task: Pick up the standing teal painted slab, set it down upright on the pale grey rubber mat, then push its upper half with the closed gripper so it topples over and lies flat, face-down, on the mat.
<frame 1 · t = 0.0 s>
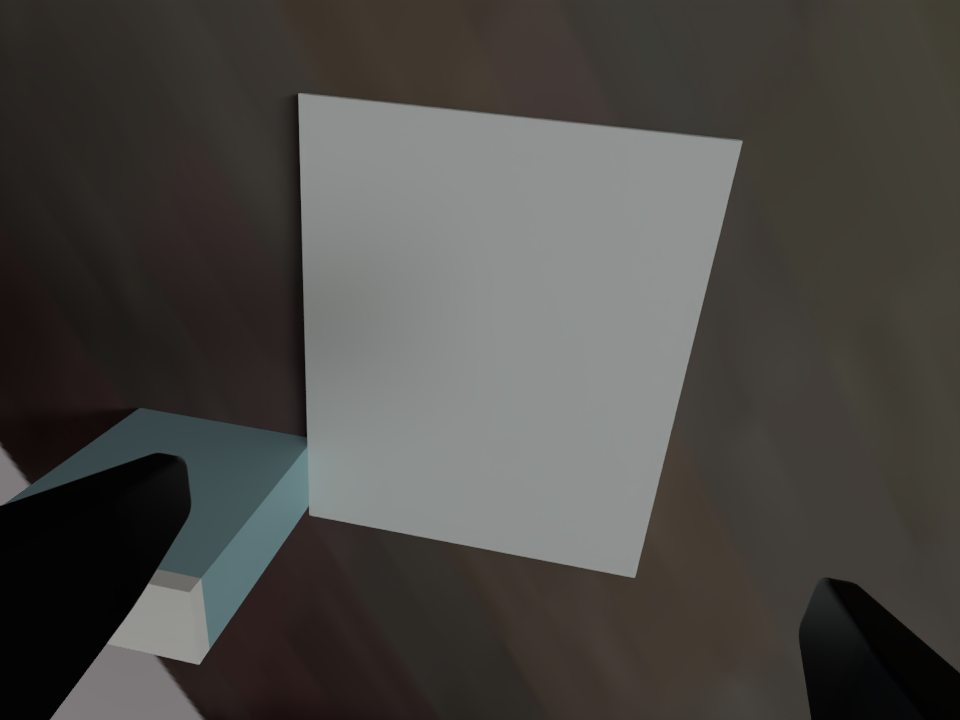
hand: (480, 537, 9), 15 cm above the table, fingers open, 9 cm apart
slab: (228, 452, 28), on the table
mat: (488, 356, 24), on the table
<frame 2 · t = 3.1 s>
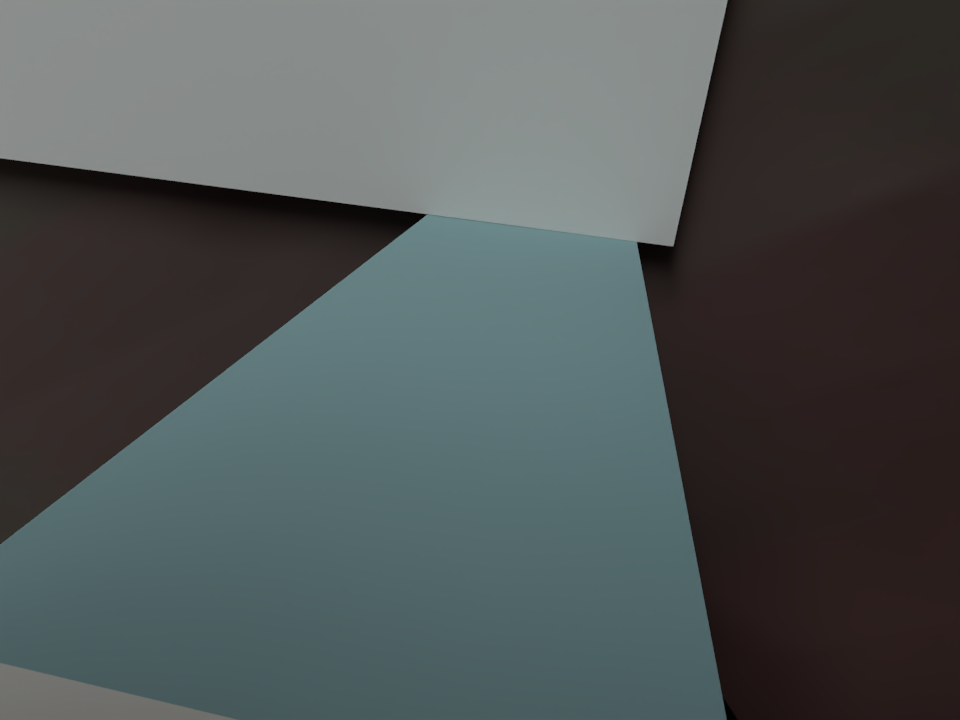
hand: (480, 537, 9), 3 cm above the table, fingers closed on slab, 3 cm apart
slab: (505, 445, 11), on the table, touching gripper
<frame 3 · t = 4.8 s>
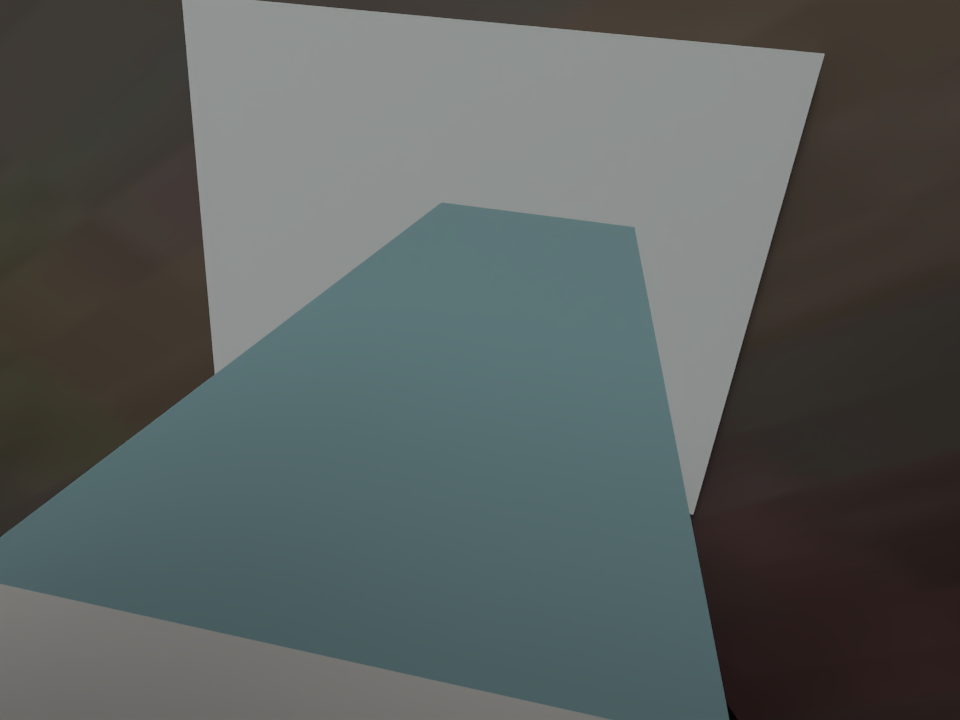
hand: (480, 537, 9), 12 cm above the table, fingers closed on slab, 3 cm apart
slab: (507, 436, 12), point 9 cm above the table, touching gripper
mat: (465, 273, 20), on the table
when the fingers open (4 cm above the table, at t = 6.9 s): slab stays where it is, resting on mat.
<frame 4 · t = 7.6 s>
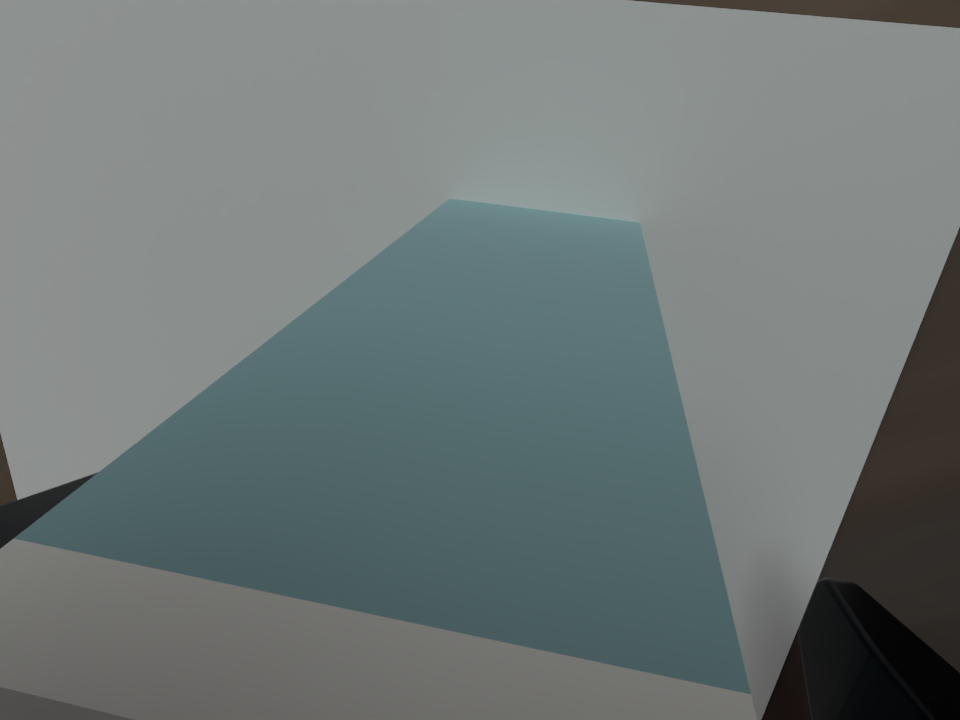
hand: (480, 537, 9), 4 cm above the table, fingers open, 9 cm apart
slab: (514, 429, 12), point 1 cm above the table, touching mat
mat: (387, 394, 13), on the table
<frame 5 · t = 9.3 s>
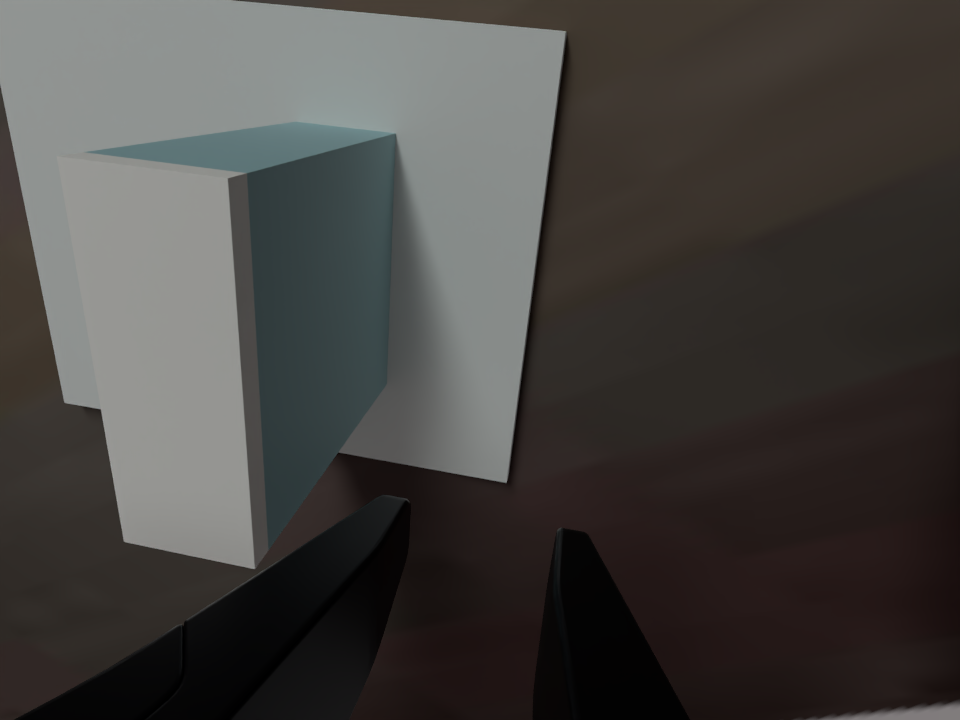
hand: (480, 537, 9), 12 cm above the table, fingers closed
slab: (344, 262, 20), point 1 cm above the table, touching mat
mat: (275, 248, 21), on the table
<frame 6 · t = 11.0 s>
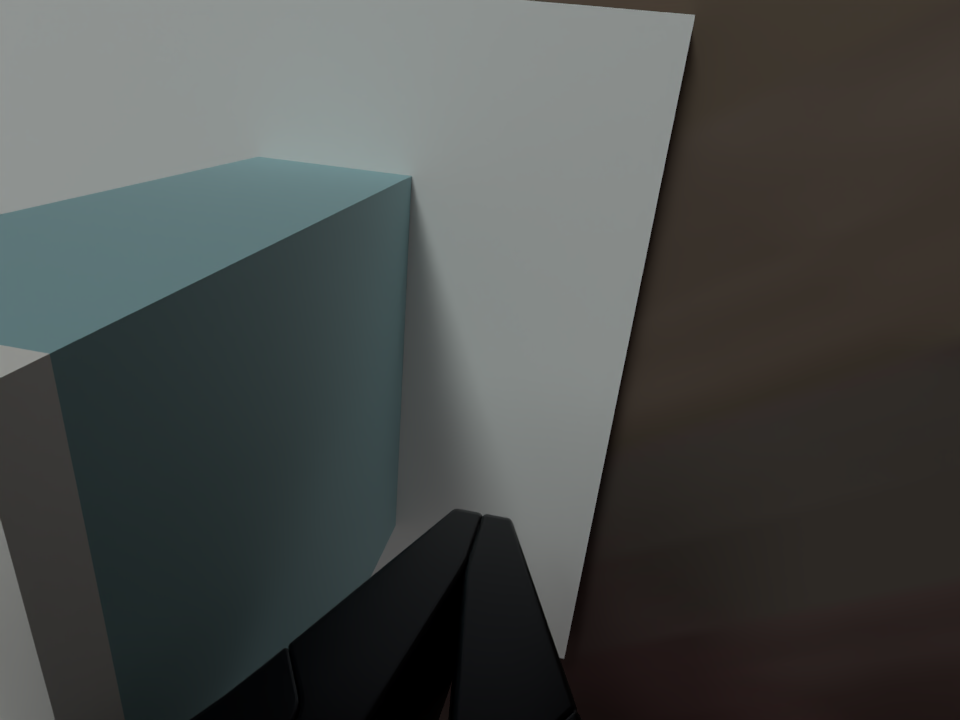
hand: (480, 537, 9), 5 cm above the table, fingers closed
slab: (334, 361, 14), point 1 cm above the table, touching gripper, mat
mat: (235, 334, 15), on the table
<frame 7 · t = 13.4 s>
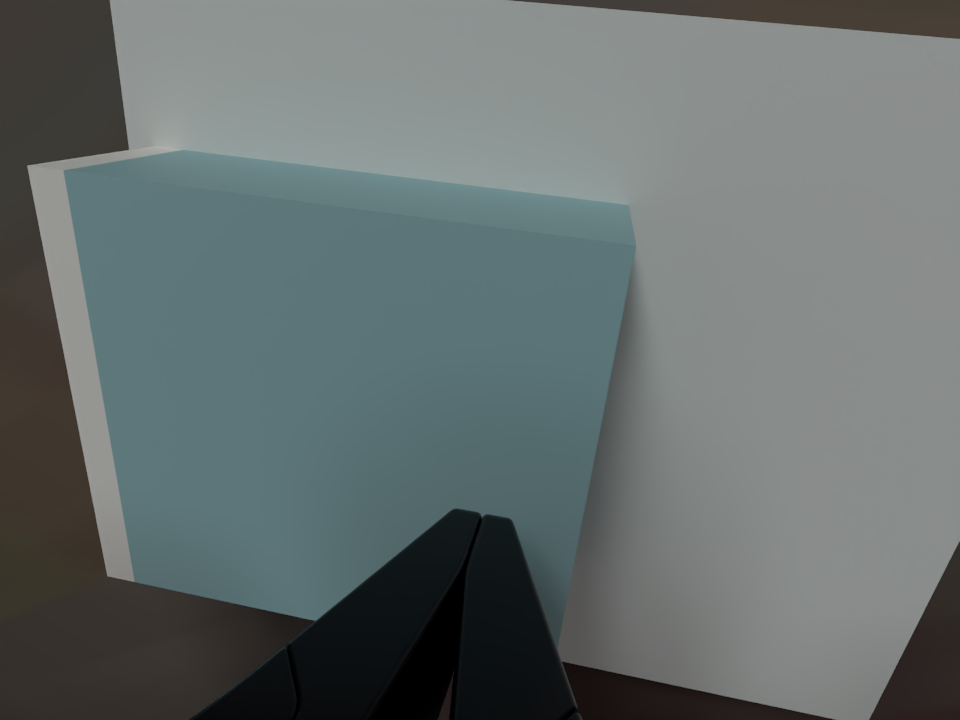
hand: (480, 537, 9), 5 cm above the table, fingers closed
slab: (589, 444, 12), point 2 cm above the table, tilted 90°, touching mat
mat: (542, 387, 14), on the table
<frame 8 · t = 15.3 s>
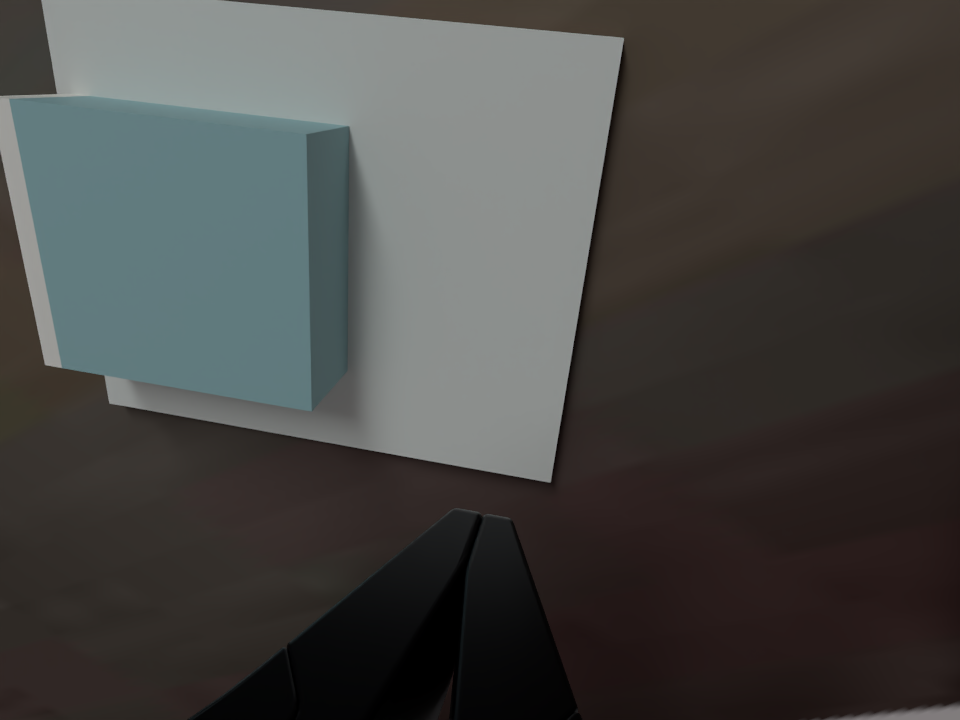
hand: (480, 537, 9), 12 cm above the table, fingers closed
slab: (330, 271, 19), point 2 cm above the table, tilted 90°, touching mat
mat: (324, 251, 21), on the table
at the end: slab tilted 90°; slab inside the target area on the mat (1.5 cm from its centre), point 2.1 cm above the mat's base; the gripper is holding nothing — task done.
